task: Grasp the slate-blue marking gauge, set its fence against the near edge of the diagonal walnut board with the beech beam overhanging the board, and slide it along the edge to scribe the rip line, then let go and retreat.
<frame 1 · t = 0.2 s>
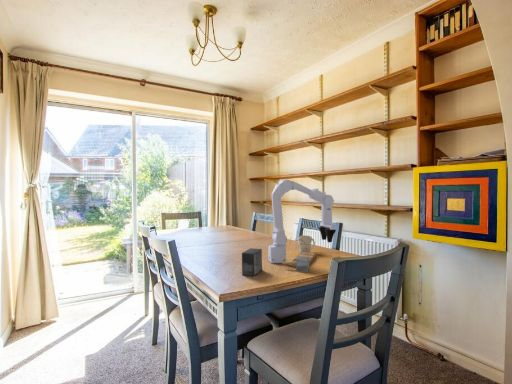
hand: (326, 240, 159), 10 cm above the table, fingers open, 7 cm apart
small box: (252, 273, 135), on the table
mug: (307, 252, 175), on the table
board: (303, 261, 154), on the table
gauge: (302, 270, 137), on the table
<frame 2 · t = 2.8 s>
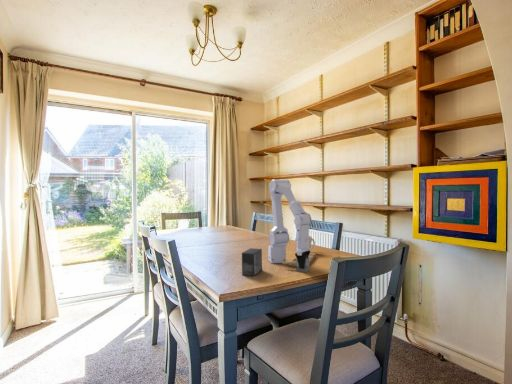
hand: (302, 267, 137), 2 cm above the table, fingers closed on gauge, 4 cm apart
gauge: (302, 270, 137), on the table, touching gripper
everything else where it was.
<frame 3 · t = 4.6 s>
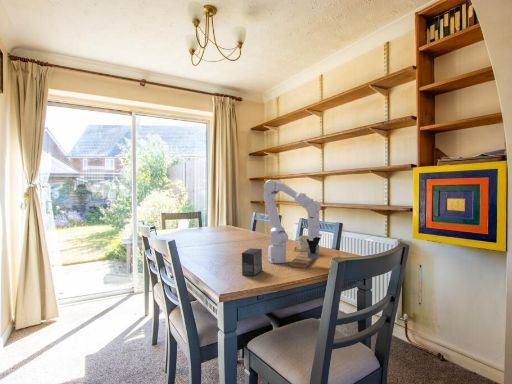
hand: (313, 252, 144), 7 cm above the table, fingers closed on gauge, 4 cm apart
gauge: (313, 257, 144), point 4 cm above the table, touching gripper
everything else where it was.
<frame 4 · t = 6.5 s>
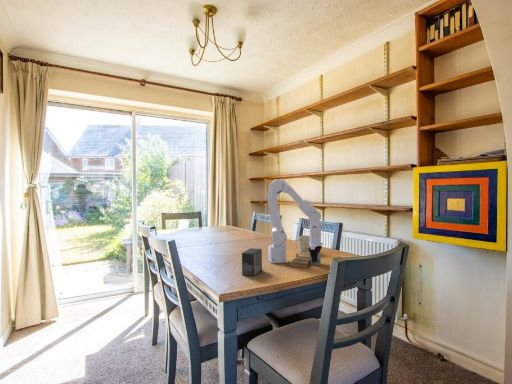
hand: (315, 260, 148), 2 cm above the table, fingers closed on gauge, 4 cm apart
gauge: (315, 264, 148), on the table, touching gripper
everything else where it was.
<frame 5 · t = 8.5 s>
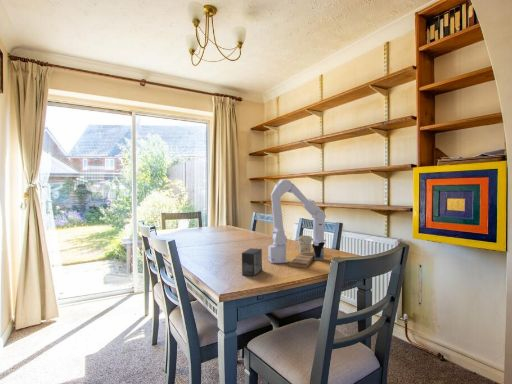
hand: (318, 256, 158), 2 cm above the table, fingers closed on gauge, 4 cm apart
gauge: (318, 259, 158), on the table, touching gripper
everything else where it was.
when the fingers open (2 cm above the table, at t = 10.0 s): gauge stays where it is, on the table.
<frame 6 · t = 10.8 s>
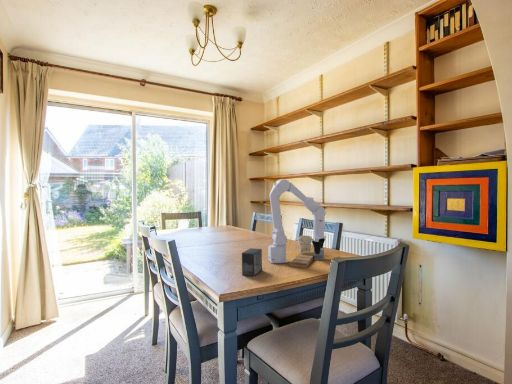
hand: (318, 252, 158), 4 cm above the table, fingers open, 7 cm apart
gauge: (318, 259, 158), on the table
everything else where it was.
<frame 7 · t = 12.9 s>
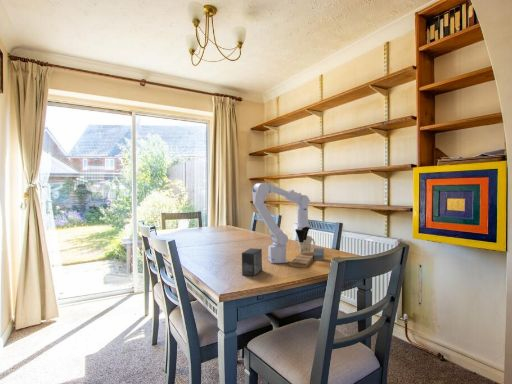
hand: (302, 241, 159), 10 cm above the table, fingers open, 7 cm apart
nothing on the table moved.
at the end: gauge inside the target area (0.3 cm from its centre), on the table; gauge moved 24.2 cm from its start; gauge tilted 0° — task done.
